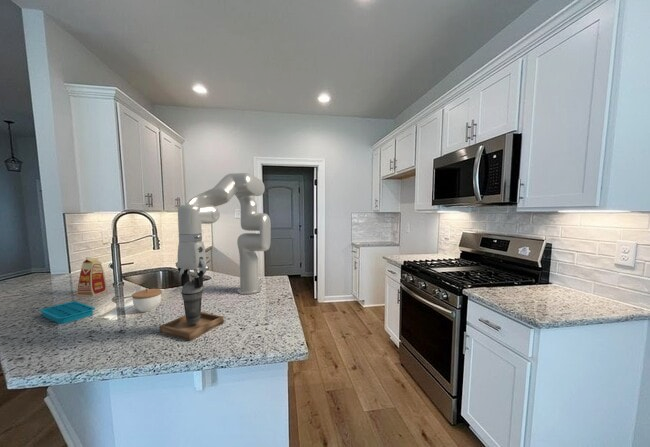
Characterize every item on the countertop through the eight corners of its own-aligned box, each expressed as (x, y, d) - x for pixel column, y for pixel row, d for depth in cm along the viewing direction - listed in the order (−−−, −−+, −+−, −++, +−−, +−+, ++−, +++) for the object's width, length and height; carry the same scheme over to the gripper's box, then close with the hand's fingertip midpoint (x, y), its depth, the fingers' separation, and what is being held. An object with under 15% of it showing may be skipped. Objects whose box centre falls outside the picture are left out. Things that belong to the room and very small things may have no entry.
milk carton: (93, 296, 130) (91, 257, 129) (75, 296, 130) (73, 257, 129) (108, 290, 139) (107, 254, 138) (92, 290, 139) (90, 254, 138)
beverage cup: (195, 326, 91) (193, 271, 90) (177, 324, 92) (175, 270, 91) (208, 318, 98) (206, 267, 97) (191, 316, 99) (190, 266, 98)
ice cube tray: (75, 307, 116) (75, 300, 116) (97, 315, 107) (96, 308, 107) (38, 316, 106) (38, 309, 106) (59, 326, 97) (58, 318, 97)
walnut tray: (195, 316, 105) (195, 310, 105) (223, 322, 99) (223, 316, 99) (160, 332, 91) (159, 326, 91) (189, 341, 85) (189, 333, 85)
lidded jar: (162, 310, 111) (161, 289, 110) (131, 316, 105) (130, 294, 105) (162, 303, 120) (161, 283, 119) (134, 307, 114) (133, 287, 114)
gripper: (216, 238, 93) (217, 286, 94) (183, 236, 100) (184, 281, 101) (198, 240, 86) (200, 292, 87) (164, 238, 93) (166, 286, 94)
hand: (192, 285), depth 94 cm, fingers closed on beverage cup, 6 cm apart
